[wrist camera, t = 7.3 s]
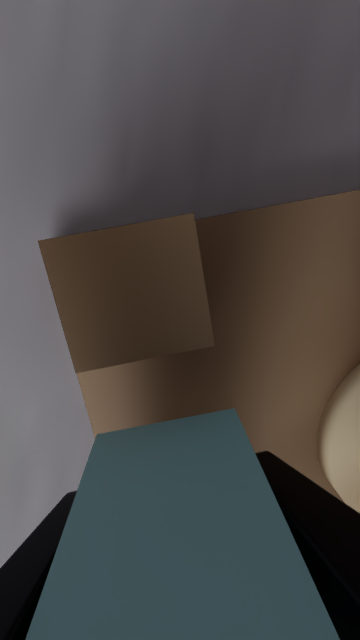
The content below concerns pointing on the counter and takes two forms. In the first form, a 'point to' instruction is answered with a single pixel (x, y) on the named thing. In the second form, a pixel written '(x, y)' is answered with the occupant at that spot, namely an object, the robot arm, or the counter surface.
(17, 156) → the counter surface
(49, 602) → the block
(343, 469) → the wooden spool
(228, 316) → the board
